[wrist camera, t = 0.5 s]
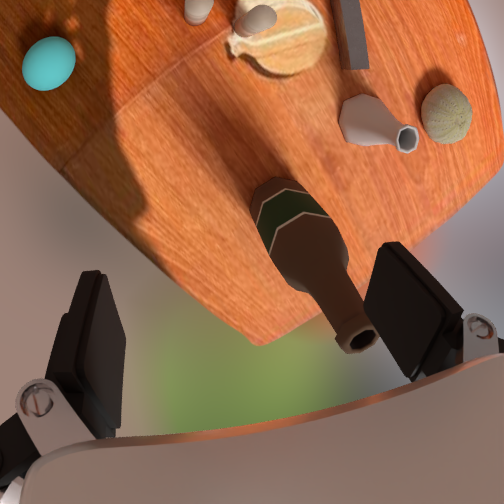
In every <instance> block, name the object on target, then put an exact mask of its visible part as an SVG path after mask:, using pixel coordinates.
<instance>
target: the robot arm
mask: <svg viewBox="0 0 504 504" xmlns="http://www.w3.org/2000/svg"><path fill="white" fill-rule="evenodd" d="M363 308H364V312H365V314H366V315H367V317H368V318H369V320H370V321H371V323H372V324H373V326H374V327H375V329H376V331H377V332H378V334H379V335H380V337H381V338H382V340H383V342H384V343H385V345H386V346H387V348H388V349H389V351H390V353H391V354H392V356H393V358H394V359H395V361H396V362H397V364H398V366H399V367H400V369H401V371H402V372H403V374H404V375H405V376H406V377H408V378H409V379H410V381H411V382H412V383H410V384H407V385H404V386H401V387H398V388H395V389H392V390H389V391H386V392H383V393H380V394H376V395H373V396H370V397H367V398H363V399H360V400H357V401H353V402H350V403H346V404H342V405H339V406H335V407H331V408H327V409H323V410H319V411H315V412H311V413H306V414H302V415H297V416H292V417H288V418H283V419H278V420H272V421H268V422H262V423H256V424H250V425H243V426H237V427H230V428H223V429H215V430H206V431H197V432H187V433H177V434H165V435H152V436H151V435H150V436H132V437H119V438H115V433H116V428H120V426H121V405H122V387H123V386H122V385H123V372H124V359H125V347H126V337H125V333H124V330H123V327H122V324H121V321H120V318H119V315H118V311H117V308H116V305H115V302H114V299H113V295H112V292H111V289H110V285H109V282H108V278H107V276H106V274H101V272H100V271H99V270H94V271H83V272H82V274H81V276H80V279H79V282H78V285H77V287H76V290H75V293H74V297H73V299H72V302H71V306H70V309H69V312H68V313H65V314H64V315H63V316H62V318H61V321H60V325H59V328H58V331H57V334H56V337H55V341H54V345H53V348H52V352H51V356H50V359H49V363H48V367H47V371H46V375H45V379H34V380H32V381H30V382H28V383H26V384H25V385H24V386H23V387H22V388H21V390H20V391H19V392H18V394H17V397H16V406H15V407H16V410H17V413H16V414H14V415H13V416H12V417H11V418H9V419H8V420H6V421H5V422H4V423H3V424H2V425H1V426H0V504H504V340H503V339H500V338H498V337H497V331H496V328H495V326H494V324H493V323H492V322H491V321H490V320H489V319H487V318H486V317H484V316H482V315H479V314H474V313H473V314H468V315H467V316H466V317H465V318H464V320H463V319H462V318H461V315H462V313H463V311H464V310H463V309H462V308H461V306H460V305H459V304H458V303H457V302H456V301H455V300H454V298H453V297H452V296H451V295H450V294H449V293H448V292H447V291H446V290H445V289H444V287H443V286H442V285H441V284H440V283H439V282H438V281H437V280H436V279H435V278H434V277H433V276H432V275H431V274H430V272H429V271H428V270H427V269H426V268H425V267H424V266H423V265H422V264H421V263H420V262H419V261H418V260H417V259H416V258H415V257H414V256H413V255H412V254H411V253H410V252H409V251H408V250H407V249H406V248H405V247H404V246H403V245H402V244H401V243H400V242H397V241H396V242H386V243H383V245H382V246H381V247H380V248H379V249H378V252H377V256H376V260H375V264H374V268H373V271H372V275H371V279H370V282H369V286H368V289H367V293H366V296H365V300H364V304H363ZM106 437H107V438H106Z"/></svg>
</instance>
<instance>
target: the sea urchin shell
mask: <svg viewBox="0 0 504 504" xmlns="http://www.w3.org/2000/svg"><path fill="white" fill-rule="evenodd" d="M421 112H422V114H421V118H422V121H423V125H424V129H425V130H426V132H427V134H428V136H429V137H430V138H431V139H432V140H433V141H434V142H439V143H441V144H442V143H443V144H448V143H450V144H452V143H455V142H457V141H459V140H462V139H463V138H464V137H465V136H466V133H467V131H468V129H469V127H470V123H471V121H472V120H471V119H472V108H471V105H470V103H469V101H468V99H467V97H466V96H465V95H464V94H463V93H462V92H461V91H460V90H459V89H458V88H456V87H454V86H452V85H450V84H440V85H439V86H436V87H435V88H433V89H432V90H431V92H429V93H428V94H427V96H426V98H425V99H424V101H423V102H422V107H421Z"/></svg>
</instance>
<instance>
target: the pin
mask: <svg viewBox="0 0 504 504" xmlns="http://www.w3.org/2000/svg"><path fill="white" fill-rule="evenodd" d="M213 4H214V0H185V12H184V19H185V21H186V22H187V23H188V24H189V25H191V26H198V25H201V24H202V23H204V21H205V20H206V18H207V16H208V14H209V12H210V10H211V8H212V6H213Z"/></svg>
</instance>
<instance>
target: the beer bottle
mask: <svg viewBox="0 0 504 504" xmlns="http://www.w3.org/2000/svg"><path fill="white" fill-rule="evenodd" d="M250 213H251V216H252V218H253V221H254V223H255V225H256V227H257V230H258V232H259V234H260V236H261V238H262V241H263V243H264V245H265V247H266V249H267V252H268V254H269V256H270V258H271V259H272V261H273V263H274V264H275V266H276V267H277V269H278V270H279V272H280V273H281V275H282V276H283V278H284V279H285V280H286V282H287V283H288V285H290V286H291V287H293V288H294V289H295V290H297V291H302V292H306V293H309V294H310V295H311V296H312V297H313V298H314V300H315V301H316V302H317V303H318V305H319V306H320V308H321V310H322V311H323V313H324V314H325V316H326V317H327V319H328V321H329V322H330V324H331V325H332V327H333V329H334V330H335V332H336V333H337V335H336V337H335V340H336V342H337V343H338V345H339V346H340V348H341V349H342V350H343V351H344V352H345V353H347V354H352V353H361V352H363V351H364V350H366V349H368V348H369V347H371V346H373V345H374V344H375V343H376V341H377V340H378V338H379V337H380V335H379V334H378V332H377V331H376V329H375V327H374V326H373V324H372V323H371V321H370V320H369V318H368V317H367V315H366V314H365V312H364V308H363V304H364V301H363V300H362V298H361V297H360V294H359V293H358V291H357V289H356V287H355V286H354V284H353V282H352V281H351V279H350V277H349V276H348V273H347V271H346V270H347V265H348V261H349V255H348V250H347V247H346V245H345V243H344V240H343V238H342V236H341V234H340V232H339V230H338V228H337V226H336V225H335V223H334V222H333V220H332V219H331V218H330V216H329V215H328V214H327V213H326V212H325V211H324V210H323V208H322V207H321V206H320V205H319V204H318V203H317V202H316V201H315V200H314V198H313V197H312V196H311V195H310V194H309V193H308V192H307V191H306V190H305V189H304V187H303V186H302V185H300V184H299V183H298V182H297V181H293V180H288V179H283V178H278V177H274V178H273V179H271V180H269V181H268V182H266V183H265V184H263V185H261V186H260V187H258V188H256V189H255V193H254V196H253V200H252V203H251V207H250Z"/></svg>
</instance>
